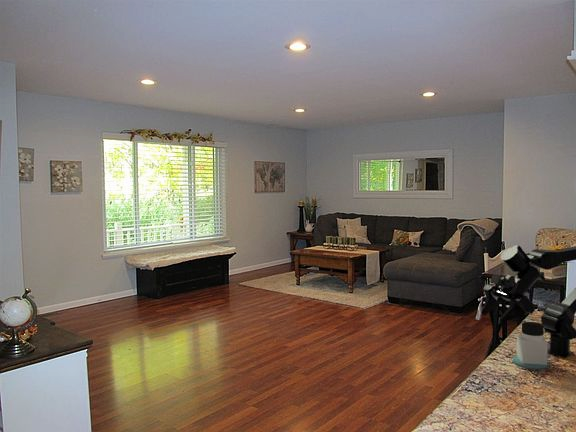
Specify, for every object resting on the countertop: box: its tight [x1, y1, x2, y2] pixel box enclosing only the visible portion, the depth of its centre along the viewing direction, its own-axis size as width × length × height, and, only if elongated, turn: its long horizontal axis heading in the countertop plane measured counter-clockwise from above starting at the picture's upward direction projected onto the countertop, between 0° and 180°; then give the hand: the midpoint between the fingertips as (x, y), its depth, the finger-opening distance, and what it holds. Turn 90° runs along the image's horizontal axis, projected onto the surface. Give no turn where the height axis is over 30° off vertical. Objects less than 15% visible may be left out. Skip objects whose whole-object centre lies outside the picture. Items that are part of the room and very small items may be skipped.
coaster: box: [512, 355, 550, 371], centre depth 151 cm, size 10×10×1 cm
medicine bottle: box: [516, 320, 549, 365], centre depth 151 cm, size 7×7×12 cm
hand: (491, 318), depth 153 cm, fingers open, 9 cm apart
